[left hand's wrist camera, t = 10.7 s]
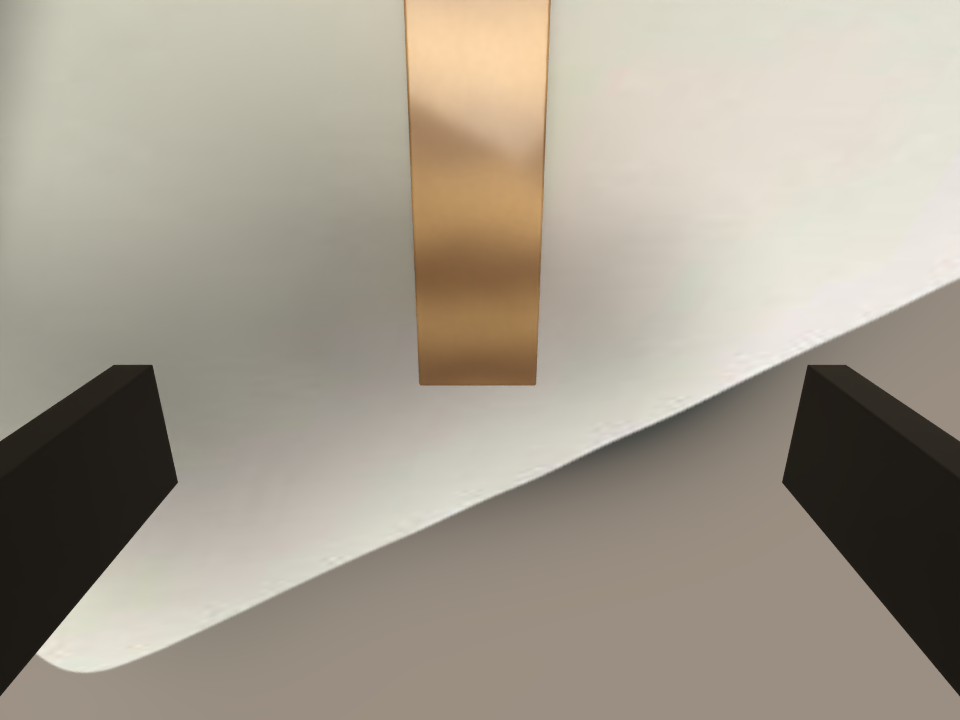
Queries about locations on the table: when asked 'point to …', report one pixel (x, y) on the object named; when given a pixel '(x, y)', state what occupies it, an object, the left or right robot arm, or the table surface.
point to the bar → (477, 185)
